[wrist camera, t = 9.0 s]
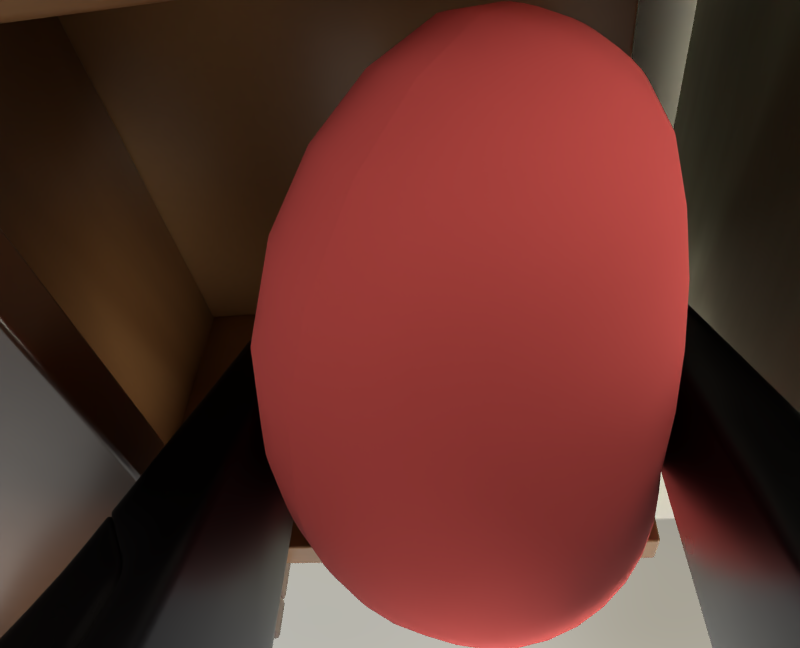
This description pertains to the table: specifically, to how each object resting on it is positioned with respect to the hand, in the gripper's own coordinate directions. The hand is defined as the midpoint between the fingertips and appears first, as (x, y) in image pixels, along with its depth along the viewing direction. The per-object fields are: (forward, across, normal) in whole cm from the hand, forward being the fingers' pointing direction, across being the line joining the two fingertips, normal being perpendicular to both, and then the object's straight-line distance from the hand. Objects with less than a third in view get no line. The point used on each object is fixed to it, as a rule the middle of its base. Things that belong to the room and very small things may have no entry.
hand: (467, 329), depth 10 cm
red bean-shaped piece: (+1, 0, 0) cm, 1 cm away
